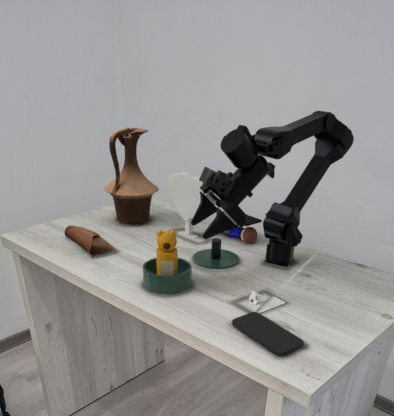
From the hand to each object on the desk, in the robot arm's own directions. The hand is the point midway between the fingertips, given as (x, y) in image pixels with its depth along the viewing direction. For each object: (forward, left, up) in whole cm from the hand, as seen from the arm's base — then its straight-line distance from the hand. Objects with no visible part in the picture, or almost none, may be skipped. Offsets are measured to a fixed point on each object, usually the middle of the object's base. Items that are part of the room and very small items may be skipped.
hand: (197, 230), depth 108 cm
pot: (+5, +6, -13) cm, 15 cm away
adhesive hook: (-18, +2, -13) cm, 22 cm away
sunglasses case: (+38, -3, -13) cm, 40 cm away
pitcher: (+41, -27, -13) cm, 51 cm away
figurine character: (+5, -32, -13) cm, 35 cm away
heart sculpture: (+18, -25, -13) cm, 34 cm away
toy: (+5, +6, -13) cm, 15 cm away
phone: (-25, +14, -13) cm, 31 cm away
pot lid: (+2, -13, -12) cm, 18 cm away
